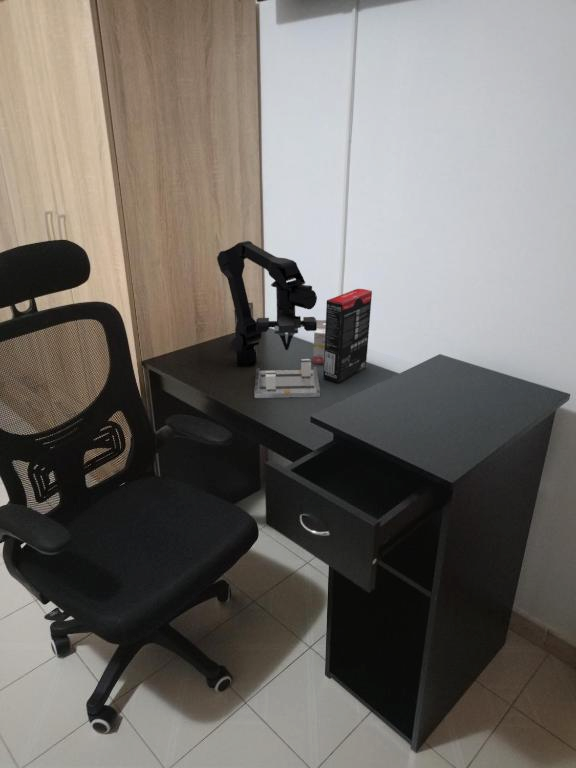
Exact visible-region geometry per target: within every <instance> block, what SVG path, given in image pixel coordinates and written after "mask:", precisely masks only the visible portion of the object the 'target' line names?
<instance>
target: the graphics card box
mask: <svg viewBox="0 0 576 768" xmlns="http://www.w3.org/2000/svg"><path fill="white" fill-rule="evenodd" d="M372 295H373V290H371V289H365V288H356V289H353V290H350V291H348V292H346V293H343V294H340V295H336V296H334V297H332V298H329V299H327V300H326V307H325V308H326V310H325V312H326V313H325V320H326V323H325V325H326V329H325V351H324V364H323V376H322V377H323V378H324V379H326V380H329V381H332V382H335V383H338V384H339V383H340V382H343V381H344V380H346V379H348V378H349V377H351V376H353V375H355V374H357V373H359V372H361V371H362V370H365V369H366V368H367V359H368V347H369V346H368V345H369V344H368V343H369V332H370V323H371V322H370V321H371V310H372Z"/></svg>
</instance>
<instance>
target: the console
mask: <svg viewBox="0 0 576 768" xmlns="http://www.w3.org/2000/svg"><path fill="white" fill-rule="evenodd" d="M312 368H313V369H311V376H303V377H302V374H301V369H291V370H290V369H285V370H284V369H283V370H281V369H276V370H275V369H273V370H272V369H271V370H270V369H269V371H275V372H276V389H267V390H266V371H267V370H260V367H256V368H255V378H254V379H255V380H254V390H253V391H254V392H253V393H254V399H276V398H277V399H279V398H282V399H283V398H284V399H285V398H288V399H289V397H293V398H321V397H320V395H321V388H320V382H319V376H318V375H319V374H318V368H317V366H313V367H312Z"/></svg>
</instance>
